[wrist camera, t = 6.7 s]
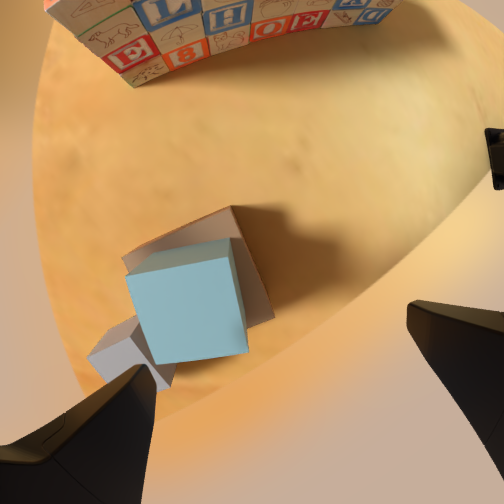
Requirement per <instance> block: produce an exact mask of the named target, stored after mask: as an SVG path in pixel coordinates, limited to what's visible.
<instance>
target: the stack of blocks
mask: <svg viewBox="0 0 504 504" xmlns="http://www.w3.org/2000/svg"><path fill="white" fill-rule="evenodd" d="M402 1H403V0H44V9H45V12H47V13H48V14H49V15H50V16H51V17H53V18H54V19H55V20H56V21H58V22H59V23H60V24H61V25H63V26H64V27H65V28H66V29H68V30H69V31H70V32H71V33H72V34H74V36H75V38H76V39H77V40H78V41H80V42H81V43H83V44H84V46H85V47H87V48H88V49H89V50H90V51H91V52H92V53H94V54H95V55H96V56H97V57H100V58H101V59H102V60H103V61H104V62H105V63H106V64H107V65H109V66H110V67H111V68H112V69H113V70H114V71H116V72H117V73H119V75H120V76H121V77H122V78H123V79H124V80H125V81H126V82H127V83H128V84H129V85H130V86H132V87H133V88H135V87H137V86H139V85H141V84H143V83H145V82H147V81H149V80H152V79H154V78H156V77H158V76H160V75H162V74H165V73H167V72H169V71H174V70H176V69H178V68H181V67H183V66H186V65H188V64H191V63H193V62H196V61H199V60H201V59H204V58H207V57H209V56H212V55H215V54H219V53H222V52H225V51H228V50H231V49H235V48H238V47H241V46H245V45H247V44H249V43H250V42H255V41H258V40H262V39H266V38H270V37H275V36H279V35H284V34H286V33H291V32H297V31H303V30H307V29H315V28H319V27H320V28H330V27H339V26H349V25H364V24H378V23H379V22H381V21H382V19H383V18H384V17H386V16H387V15H388V14H389V13H390V12H391V11H392V10H393V8H395V7H396V6H397V5H398V4H400V3H401V2H402Z"/></svg>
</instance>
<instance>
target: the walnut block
mask: <svg viewBox="0 0 504 504" xmlns="http://www.w3.org/2000/svg"><path fill="white" fill-rule="evenodd" d="M229 237H230V242H231V246H232V251H233V256H234V261H235V266H236V271H237V276H238V281H239V285H240V290H241V295H242V300H243V304H244V309H245V317H246V327H247V328H250V327H253V326H255V325H258V324H260V323H263V322H266V321H268V320H271V319H273V318H275V315H274V312H273V309H272V306H271V303H270V300H269V297H268V294H267V292H266V289H265V287H264V284H263V282H262V280H261V277H260V275H259V272H258V270H257V268H256V265H255V263H254V260H253V258H252V256H251V253H250V251H249V248H248V246H247V244H246V241H245V239H244V236H243V234H242V232H241V229H240V227H239V224H238V222H237V220H236V217H235V215H234V212H233V210H232V208H231V205H230V206H228V207H225V208H223V209H221V210H218V211H216V212H213V213H211V214H209V215H206V216H204V217H202V218H199V219H197V220H195V221H193V222H190V223H188V224H186V225H184V226H181V227H179V228H177V229H175V230H172V231H170V232H168V233H166V234H164V235H161V236H159V237H157V238H155V239H153V240H151V241H149V242H146V243H144V244H142V245H140V246H139V247H137V248H136V249H134V250H132V251H131V252H129V253H128V254H126V255H125V256H123V257H122V259H123V261H124V264H125V266H126V268H127V270H128V272H129V273H130V272H131V271H132V270H133V269H134V268H136V267H137V266H138V265H139V264H140V263H141V262H143V261H144V260H145V259H146V258H147V257H149V256H150V255H151V254H152V253H155V252H160V251H165V250H170V249H174V248H179V247H184V246H189V245H194V244H199V243H204V242H209V241H214V240H219V239H224V238H229Z"/></svg>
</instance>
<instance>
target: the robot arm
mask: <svg viewBox="0 0 504 504" xmlns="http://www.w3.org/2000/svg"><path fill="white" fill-rule="evenodd" d="M485 135H486V140H487V146H488V151H489V157H490V164H491V171H492V178H493V187H494V189H495V190H503V189H504V129H495V128H486V129H485ZM407 329H408V331H409V333H410V335H411V336H412V338H413V339H414V341H415V342H416V344H417V346H418V348H419V350H420V351H421V353H422V355H423V356H424V358H425V359H426V361H427V362H428V364H429V365H430V367H431V368H432V369H433V371H434V372H435V373H436V375H437V376H438V377H439V379H440V380H441V382H442V383H443V384H444V386H445V387H446V389H447V390H448V391H449V393H450V394H451V396H452V397H453V399H454V400H455V402H456V403H457V404H458V406H459V407H460V409H461V410H462V411H463V413H464V415H465V416H466V418H467V419H468V421H469V422H470V424H471V426H472V427H473V429H474V430H475V432H476V433H477V435H478V437H479V438H480V440H481V441H482V443H483V445H485V448H486V450H487V451H488V453H489V455H490V457H491V458H492V460H493V462H494V464H495V465H496V467H497V469H498V471H499V472H500V474H501V476H502V478H503V480H504V312H499V311H491V310H484V309H477V308H470V307H463V306H456V305H449V304H442V303H436V302H429V301H423V300H416V301H413V302H410V303H409V304H408V306H407ZM156 394H157V384H156V381H155V379H154V377H153V375H152V373H151V371H150V369H149V367H148V366H147V365H146V364H135V365H133V366H132V367H131V368H129V369H128V370H126V371H125V372H123V373H122V374H120V375H119V376H118V377H116V378H115V379H113V380H112V381H110V382H109V383H108V384H106V385H105V386H103V387H102V388H100V389H99V390H97V391H96V392H94V393H93V394H92V395H90V396H89V397H87V398H86V399H84V400H83V401H81V402H80V403H78V404H77V405H75V406H74V407H72V408H71V409H69V410H68V411H66V413H63V414H62V415H60V416H59V417H57V418H56V419H54V420H52V421H51V422H49V423H48V424H46V425H44V426H43V427H41V428H40V429H37V430H36V431H34V432H32V433H30V434H28V435H26V436H25V437H23V438H21V439H19V440H17V441H15V442H13V443H11V444H8V445H2V446H0V504H141V499H142V491H143V485H144V478H145V472H146V466H147V459H148V454H149V448H150V443H151V437H152V432H153V426H154V418H155V405H156Z"/></svg>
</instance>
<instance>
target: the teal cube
mask: <svg viewBox="0 0 504 504" xmlns="http://www.w3.org/2000/svg"><path fill="white" fill-rule="evenodd" d="M125 279H126V282H127V285H128V289H129V292H130V295H131V298H132V301H133V304H134V307H135V310H136V313H137V316H138V319H139V322H140V325H141V327H142V330H143V333H144V336H145V338H146V341H147V343H148V346H149V349H150V351H151V354H152V356H153V359H154V361H155V363H156V365H158V364H168V363H178V362H187V361H195V360H202V359H210V358H217V357H223V356H230V355H236V354H242V353H247V352H249V347H248V337H247V327H246V317H245V309H244V304H243V300H242V295H241V290H240V285H239V281H238V276H237V271H236V266H235V261H234V256H233V251H232V246H231V242H230V237H229V238H224V239H219V240H214V241H209V242H204V243H199V244H194V245H189V246H184V247H179V248H174V249H170V250H165V251H160V252H155V253H152V254H151V255H150V256H149V257H147V258H146V259H145V260H144V261H143V262H141V263H140V264H139V265H138V266H137V267H136V268H134V269H133V270H132V271H131V272H130V273H128V274H127V275H126V276H125Z"/></svg>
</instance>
